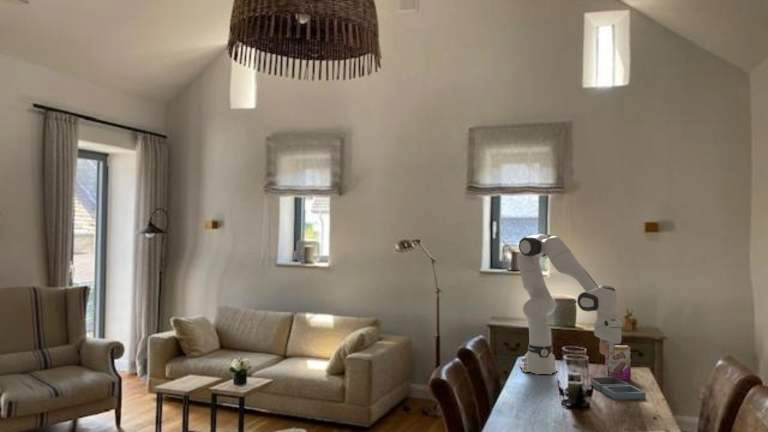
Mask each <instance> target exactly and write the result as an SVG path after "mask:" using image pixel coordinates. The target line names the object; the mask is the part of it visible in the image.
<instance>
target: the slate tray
mask: <svg viewBox="0 0 768 432" xmlns="http://www.w3.org/2000/svg"><path fill="white" fill-rule="evenodd" d="M601 394H603V395H605V396H607V397H608V398H610V399H611V400H613V401H635V400H636V401H638V400H642V401H643V400H646V392H645V391H643V390H641V389H639V388H637V387H636V386H634V385H632V384H630V385H621V386H602V392H601Z"/></svg>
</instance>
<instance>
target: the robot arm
mask: <svg viewBox="0 0 768 432" xmlns="http://www.w3.org/2000/svg"><path fill="white" fill-rule="evenodd" d="M518 250H519V252H520V253H519V254H518V255H517V257H518V269H519V274H520V277H521V282H522V286H523V288H524V290H525V291H526V292H527V294H528V296H529V299H528V300H526V302H525V303H524V304H523V306H522V311H523V314H524V316H525V317H526V321H527V325H528V337H529V338H528V339H529V340H528V341H529V343H528V347H527V351H526V353H525V354H524V355H523V357H521V362H522V363H519V367H521V368H522V370H523V371H526V372H532V373H535V374H534V375H539V374H549V375H553V374H552V373H554V372H555V371H557V370H558V371H559V369H558V368H557V367H556V357H555V355H554V353H553V345H552V329H551V328H550V325H549V320H548V317H549V316H551V315H552V314H554V312H556V309H557V304H556V301H555V299H554V298H553V297H552V295H551V293H550V291H549V289H548V287H547V285H546V282H545V279H544V274H543V272H542V267H541V264H540V263H541V262H540V260H541V258H543V257H546V256H547V258H548V259H549V260H550V263H551V264H552V266H553V267H554V269H555V270H556V271H558V272H559V273H560V274H563V275H566V276H568V277H571V278H573V279H574V280H576V281H577V282H578V283H579V285H580V286H581V287H582V289H583V290H584V292H581V293H579V294H578V297H577V300H576V301H577V306H578V307H579V309H581V310H582V311H583V312H587V313H588V312H589V313H590V312H596V316H597V317H596V321H595V322H594V327H593V328H594V329H593V330H594V331H593V334H594V337H597V338H599V341H600V342H609V347H608V351H610V352H612V351H613V347H614V344H615V345H620V344H621V343H622V333H623V332H622V327H623V323H622V321H621V320H620V319H619V317H618V312H617V308H618V295H617V291H616V290H617V289H615V288H614V287H612V286H609V285H605V284H604V285H598V284H597V283H596V281H594V279H593V278H592V277H591V275H590V274H589V273H588V271H587V270H586V269H585V268H584V267H583V266H582V264H581V263H580V262H579V261H578V260H577V259H576V256H575V255H574V254H573V253H572V251H571V249H570V248H569V246H568V245H567V244H566V243H565V242H564V241H563V239H561V238H560V237H559V236H555V235H553V236H552V235H550V234H548V233H537V234H536V233H535V234H533V235H527V236H524V237H523V238H521V239H520V241H519V243H518ZM600 342H599V343H600ZM521 368H520V369H521ZM522 370H521V371H522ZM523 371H522V372H523ZM532 373H531V374H532ZM555 373H556V372H555ZM555 373H554V374H555Z"/></svg>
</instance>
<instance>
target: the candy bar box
mask: <svg viewBox="0 0 768 432" xmlns="http://www.w3.org/2000/svg"><path fill="white" fill-rule="evenodd" d="M631 349H632V348H631V347H630V346H629V345H620V344H615V355H604V356H605V359H604V360H605V363H604V365H605V366H604V367H605V369H604V372H605V376H604V377H617V378H618V379H620V380H622V381H631V377H632V376H631V368H632V367H631V364H632V363H631V358H632V356H631V355H632V353H631V351H632V350H631Z"/></svg>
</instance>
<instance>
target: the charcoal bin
mask: <svg viewBox="0 0 768 432" xmlns="http://www.w3.org/2000/svg"><path fill="white" fill-rule="evenodd" d="M590 380H591V382H592V384H593V387H594V388H593V387H592V388H593V389H595V390H596V391H598V392H601V393H602V386H621V385H631V384H630V383H628V382H626V381H625V380H620V379H618V378H617V377H605V376H591V377H590Z"/></svg>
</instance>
